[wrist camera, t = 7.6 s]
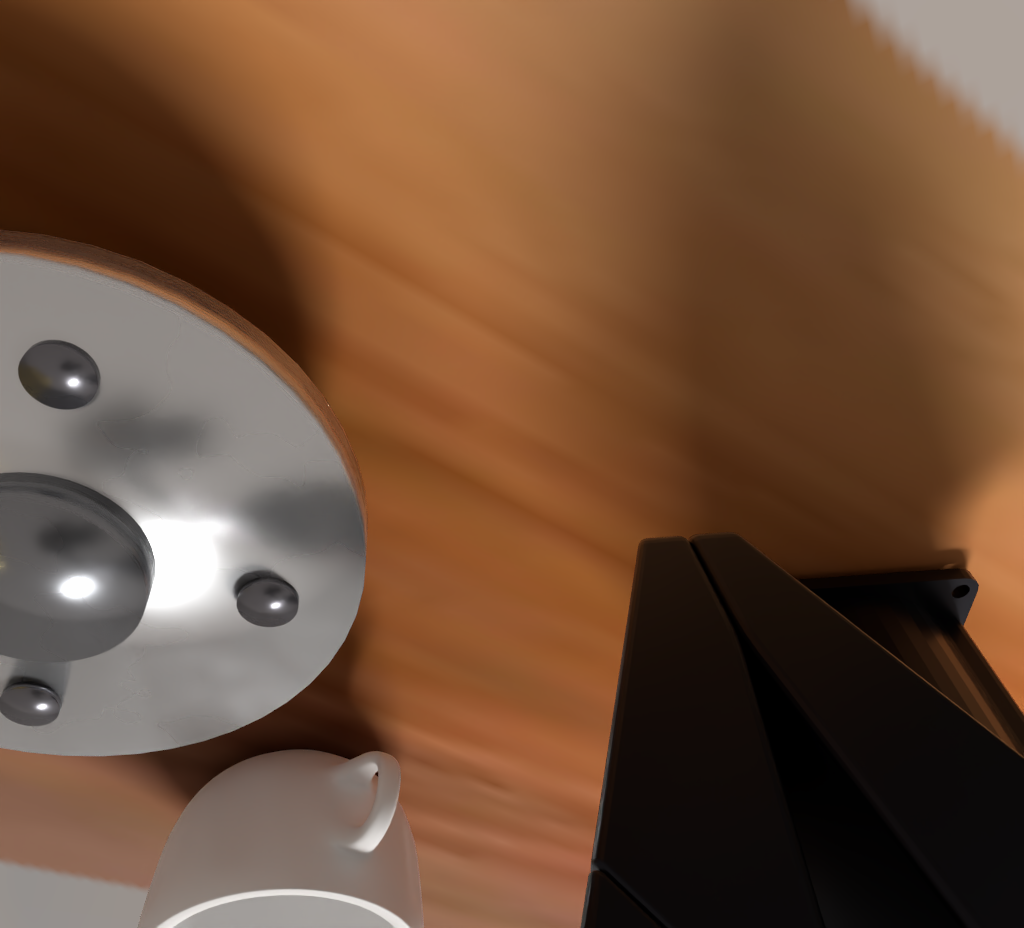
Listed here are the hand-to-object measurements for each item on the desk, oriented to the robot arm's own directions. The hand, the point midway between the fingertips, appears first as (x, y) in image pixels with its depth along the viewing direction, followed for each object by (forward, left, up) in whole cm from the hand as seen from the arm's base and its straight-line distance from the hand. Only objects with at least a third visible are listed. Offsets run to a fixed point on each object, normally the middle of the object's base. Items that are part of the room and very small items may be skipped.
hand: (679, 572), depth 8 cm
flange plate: (+11, +5, -9) cm, 15 cm away
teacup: (+7, +19, -12) cm, 23 cm away
